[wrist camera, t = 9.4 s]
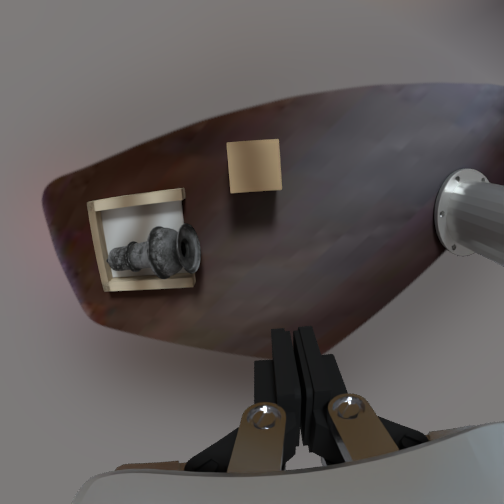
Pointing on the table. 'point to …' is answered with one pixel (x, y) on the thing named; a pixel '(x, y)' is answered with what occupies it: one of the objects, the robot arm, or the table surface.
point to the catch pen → (135, 235)
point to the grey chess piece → (160, 252)
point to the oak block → (254, 166)
